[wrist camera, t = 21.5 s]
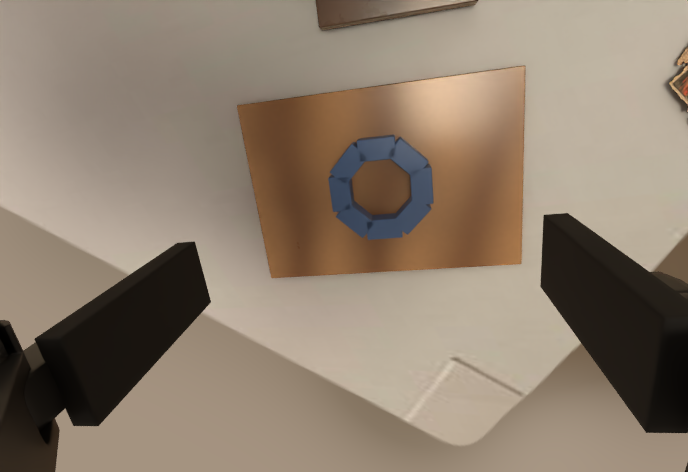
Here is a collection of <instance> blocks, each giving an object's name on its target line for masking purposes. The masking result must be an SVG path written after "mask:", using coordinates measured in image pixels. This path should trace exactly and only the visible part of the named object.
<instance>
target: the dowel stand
mask: <svg viewBox="0 0 688 472" xmlns="http://www.w3.org/2000/svg"><path fill="white" fill-rule="evenodd" d="M477 1H478V0H316V6H317V14H318V22H319V27H320V28H321V29H322V30H328V29H334V28H340V27H346V26H352V25H358V24H364V23H370V22H376V21H382V20H388V19H394V18H400V17H406V16H412V15H418V14H424V13H430V12H436V11H442V10H448V9H454V8H460V7H466V6H472V5H475V4H476V3H477Z"/></svg>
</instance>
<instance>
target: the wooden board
mask: <svg viewBox="0 0 688 472" xmlns="http://www.w3.org/2000/svg"><path fill="white" fill-rule="evenodd" d="M524 107H525V66H518V67H511V68H504V69H496V70H489V71H482V72H475V73H467V74H460V75H453V76H446V77H439V78H431V79H424V80H417V81H410V82H403V83H395V84H388V85H381V86H374V87H367V88H359V89H352V90H345V91H338V92H330V93H323V94H316V95H309V96H302V97H294V98H287V99H280V100H273V101H266V102H258V103H251V104H244V105H237V109H238V114H239V119H240V124H241V129H242V134H243V139H244V144H245V149H246V154H247V159H248V164H249V169H250V174H251V179H252V184H253V189H254V193H255V198H256V203H257V208H258V213H259V218H260V223H261V228H262V233H263V238H264V243H265V248H266V253H267V258H268V263H269V268H270V273H271V278H281V277H299V276H317V275H334V274H352V273H370V272H387V271H405V270H423V269H440V268H458V267H476V266H493V265H511V264H521V255H522V206H523V157H524ZM385 135H395V142H396V140H397V139H398V138H399V137H402V138H403V139H404V140H406V141H407V142H408V143H409V144H410V145H412V146H413V147H414V148H415V149H416V150H418V151H419V152H420V153H421V154H422V155H424V156H425V157H426V158H427V159H428V162H429V163H428V164H430V165H431V168H432V182H433V201H434V203H433V204H430V205H431V210H430V211H429V212H428V214H427V215H426V216H425V217H424V218H423V219H422V220H421V221H420V222H419V223H418V224H417V225H416V227H415V228H414V229H413V230H412V231H411V232H410V233H409V234H408V235H407V234H406V233H404V232H403V237H401V238H387V239H373V240H368V238H367V234H366V235H365V236H364V237H363V238H362V237H360V236H359V235H358V234H357V233H355V232H354V231H353V230H351V229H350V228H349V227H348V226H346V225H345V224H344V223H343V222H341V221H340V220H339V219H338V218H336V215H337V213H338V212H333V209H332V202H331V195H330V188H329V181H328V178H329V177H330V176H331V175H332V174H331V173H330V171H331V170H332V168H333V167H334V166H335V164H336V163H337V162H338V160H339V159H340V158H341V157H342V155H343V154H344V153H345V151H346V150H347V149H348V147H349V146H350V145H351V144H352V143H353V142H355V143H357V140H358V139H360V138H368V137H377V136H385ZM352 186H353V194H354V201H355V202H357V203H358V204H359V205H360V206H362V207H363V208H364V209H365V210H367V211H368V212H369V213H370V214H372V215H380V214H392V213H396V212H397V211H398V210H399V209H400V208H401V207H402V206H403V204H404V203H405V202H406V201H407V200H408V199H409V198H410V197H411V183H410V175H409V174H408V173H407V172H406V171H404V170H403V169H402V168H401V167H400V166H398V165H397V164H396V163H395V162H393V161H392V160H391V159H386V160H376V161H367V162H364V163H363V165H362V166H361V167H360V168H359V170H358V171H357V172H356V173H355V175H354V176H353V177H352Z"/></svg>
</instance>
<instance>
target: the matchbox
mask: <svg viewBox="0 0 688 472" xmlns="http://www.w3.org/2000/svg"><path fill="white" fill-rule="evenodd" d="M682 62H685V63H688V47H687V48H686V49H685V51H684V53H683V54H682V55H681V57H680V58H679V60H678V63H677V65H681V64H682ZM669 84H670V85H671V86H672V89H674V90H675V92H676V93H678V95H679V96H680V99H683V100H684V101H685V102H686V103H687V104H688V65H687V66H686V67H685V68H684V70H683V72H682V73H681V74H679V75H678V76H676V77H674V79H673V81H671V82H670V83H669ZM687 112H688V110H687Z"/></svg>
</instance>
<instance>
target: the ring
mask: <svg viewBox="0 0 688 472" xmlns="http://www.w3.org/2000/svg"><path fill="white" fill-rule="evenodd" d="M386 159H391V160H392V161H393V162H395V163H396V164H397V165H398V166H400V167H401V168H402V169H403V170H404V171H406V172H407V173H408V174H409V175H410V183H411V197H410V198H409V199H408V200H407V201H406V202H405V203H404V204H403V206H402V207H401V208H400V209H399V210H398V211H397V212H396V213H392V214H380V215H372V214H370V213H369V212H368V211H367V210H365V209H364V208H363V207H362V206H360V205H359V204H358V203H357V202H355V201H354V194H353V186H352V177H353V176H354V175H355V173H356V172H357V171H358V170H359V168H360V167H361V166H362V165H363V163H364V162H367V161H376V160H386ZM428 163H429V162H428V159H427V158H426V157H425V156H424V155H422V154H421V153H420V152H419V151H418V150H416V149H415V148H414V147H413V146H412V145H410V144H409V143H408V142H407V141H406V140H404V139H403V138H402V137H399V138H398V139H397V140H396V142H395V135H385V136H377V137H368V138H360V139H358V140H357V143H355V142H353V143H352V144H351V145H350V146H349V147H348V149H347V150H346V151H345V153H344V154H343V155H342V157H341V158H340V159H339V160H338V162H337V163H336V164H335V166H334V167H333V168H332V170H331V171H330V173H331V174H332V175H331V176H330V177H329V178H328V181H329V188H330V195H331V202H332V209H333V212H338V213H337V215H336V218H338V219H339V220H340V221H341V222H343V223H344V224H345V225H346V226H348V227H349V228H350V229H351V230H353V231H354V232H355V233H357V234H358V235H359V236H360V237H362V238H363V237H364V236H365V235H366V234H367V238H368V240H373V239H387V238H401V237H403V232H404V233H406V234H407V235H408V234H409V233H410V232H411V231H412V230H413V229H414V228H415V227H416V225H417V224H418V223H419V222H420V221H421V220H422V219H423V218H424V217H425V216H426V215H427V214H428V212H429V211H430V210H431V205H430V204H433V203H434V201H433V182H432V168H431V165H430V164H428Z"/></svg>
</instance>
